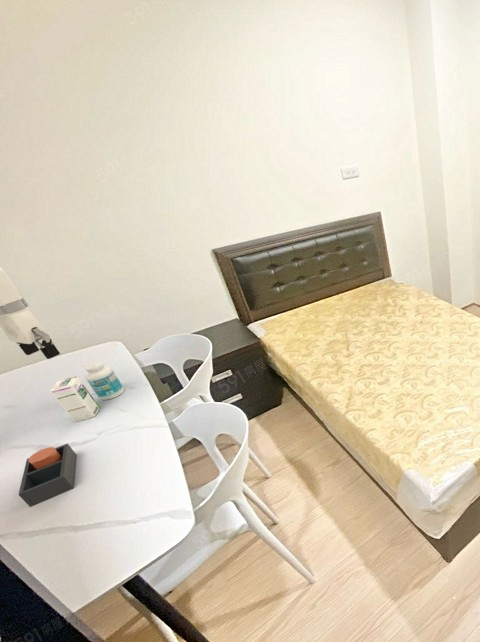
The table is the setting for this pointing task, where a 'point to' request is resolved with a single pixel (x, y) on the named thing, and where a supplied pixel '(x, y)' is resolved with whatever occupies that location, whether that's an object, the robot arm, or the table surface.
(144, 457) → the table surface
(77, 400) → the syrup box
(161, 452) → the table surface
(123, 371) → the table surface
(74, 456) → the holder
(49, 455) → the orange faceted barrel
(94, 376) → the pill bottle
